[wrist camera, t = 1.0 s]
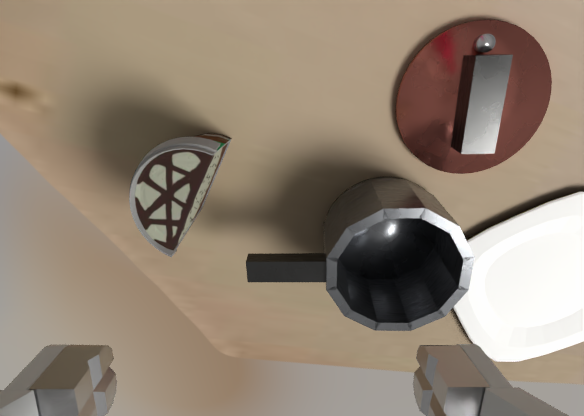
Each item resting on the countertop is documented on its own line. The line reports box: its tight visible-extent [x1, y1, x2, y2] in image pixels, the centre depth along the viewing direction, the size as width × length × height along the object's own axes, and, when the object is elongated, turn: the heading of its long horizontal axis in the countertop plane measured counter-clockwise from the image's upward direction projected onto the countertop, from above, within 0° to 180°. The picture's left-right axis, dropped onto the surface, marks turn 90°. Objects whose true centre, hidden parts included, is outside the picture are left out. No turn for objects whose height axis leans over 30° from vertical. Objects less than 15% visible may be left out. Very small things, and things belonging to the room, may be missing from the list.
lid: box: [396, 20, 552, 174], centre depth 37 cm, size 15×15×4 cm
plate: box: [453, 191, 584, 362], centre depth 46 cm, size 22×22×2 cm
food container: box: [129, 133, 232, 257], centre depth 38 cm, size 12×6×10 cm, turn 154°
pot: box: [246, 177, 475, 331], centre depth 41 cm, size 14×22×9 cm, turn 92°
